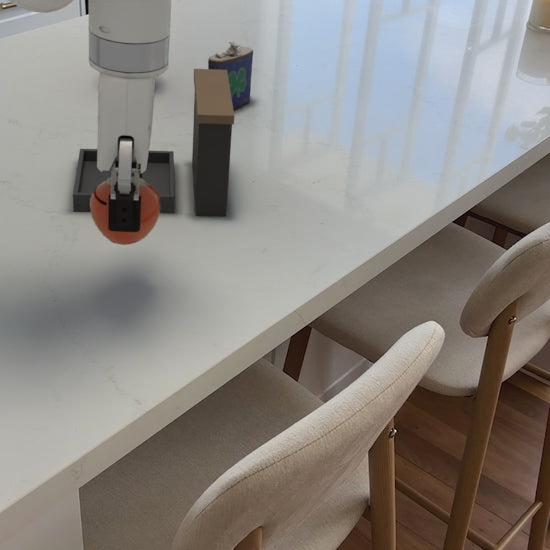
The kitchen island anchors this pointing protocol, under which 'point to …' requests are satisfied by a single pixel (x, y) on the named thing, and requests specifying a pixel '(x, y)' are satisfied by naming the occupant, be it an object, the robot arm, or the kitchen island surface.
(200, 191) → the tower
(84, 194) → the pan
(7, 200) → the kitchen island surface
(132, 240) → the tomato
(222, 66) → the flask
